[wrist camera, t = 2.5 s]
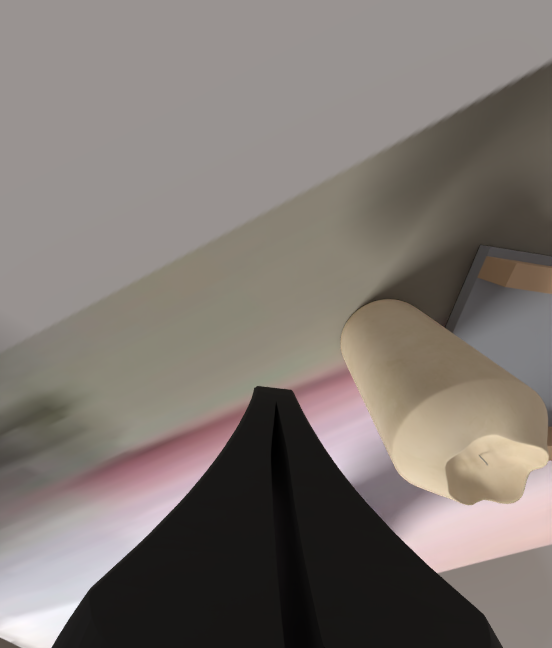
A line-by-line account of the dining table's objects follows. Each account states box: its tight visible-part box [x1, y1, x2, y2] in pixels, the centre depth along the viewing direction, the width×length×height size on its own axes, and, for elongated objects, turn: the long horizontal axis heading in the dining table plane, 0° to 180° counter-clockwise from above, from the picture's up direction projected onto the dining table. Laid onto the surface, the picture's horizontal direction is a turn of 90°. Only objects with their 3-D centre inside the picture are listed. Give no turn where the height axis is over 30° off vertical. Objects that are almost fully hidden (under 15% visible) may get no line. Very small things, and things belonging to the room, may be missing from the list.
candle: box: [340, 299, 549, 505], centre depth 13 cm, size 6×6×10 cm
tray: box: [445, 245, 552, 461], centre depth 17 cm, size 13×12×3 cm
